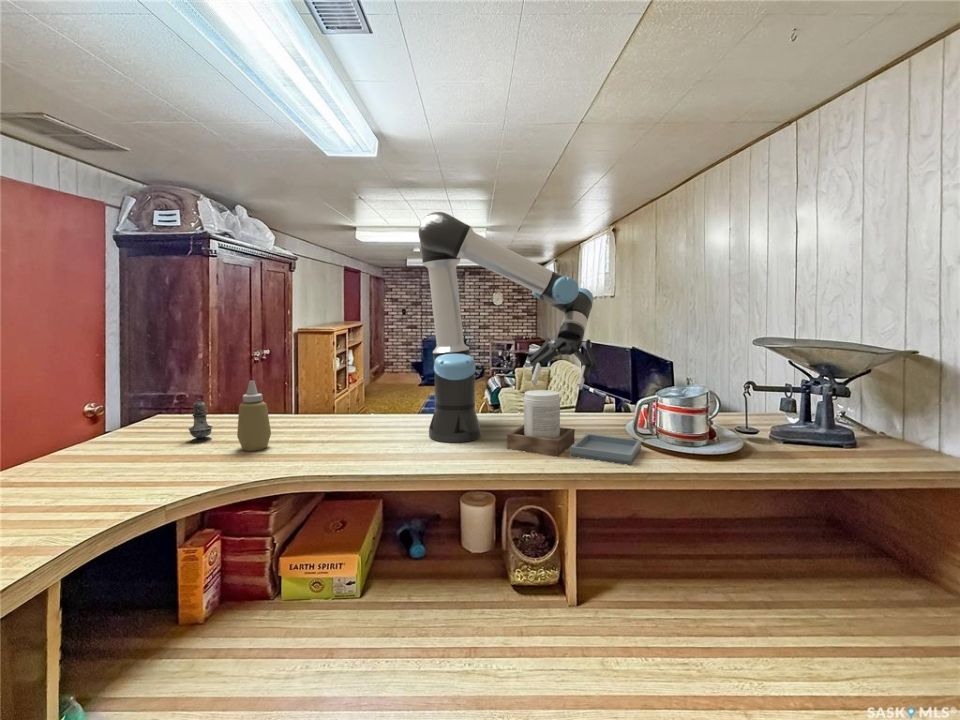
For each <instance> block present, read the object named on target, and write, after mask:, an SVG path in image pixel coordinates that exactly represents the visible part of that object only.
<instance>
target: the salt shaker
mask: <svg viewBox="0 0 960 720" xmlns="http://www.w3.org/2000/svg"><path fill="white" fill-rule="evenodd" d="M207 415H208V413H207V410H206V403H205V402H204V401H201V398H197V401H196V402H194V403H193V414H192V417H193V425H192V427H189V428H188V430H187V431H189V433H190V435H191V437H192V438H193V439H191V440H190V443H191V444H202V443H207V442H210V441H212V440H213V438H212V437H211V436H209V435H210V434H211V433H212V431H213V430H212V429H213V427H214V426H213V425H209V423H208V422H207V421H208V420H207Z"/></svg>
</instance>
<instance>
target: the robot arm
mask: <svg viewBox="0 0 960 720" xmlns="http://www.w3.org/2000/svg"><path fill="white" fill-rule="evenodd" d="M418 237H419V244H420V250H421V260H422V265H423V266H424V267H426V268H427V270H428V277H429V278H428V279H429V287H430V296H431V305H432V307H431V308H432V314H433V315H432V316H433V323H434V325H433V326H434V333H435V340H436V341H435V343H436V346H435V348H434V349H433V350H432V359H433V371H434V411H433V415H432V418H431V422H430V424H429V427H428V437H429V438H430V439H431V440H433V441H437V442H442V443H443V442H444V443H465V442H470V441H475V440H478V439H479V438H481V436H482V427H481V424H480V422H479V417H478V415H477V412H476V369H477V368H476V363H475V359H474V357H472V355H471V352H470V347H469V346H467V345H466V344H465V342H464V332H463V331H464V330H463V323H462V321H463V320H462V313H461V303H460V293H459V284H458V274H457V266H458V265H459V263H460V262H461V258H464V259H466V260H468V261H470V262H472V263H474V264H476V265H479V266H480V267H483V268H484V269H487V270H489V271H490V272H493V273H495V274H497V275H499V276H501V277H503V278H506V279H508V280H509V281H512V282H514V283H516V284H518V285H520V286H522V287H525V288H526V289H528V290H530V291H532V292H531V294H532V296H533V297H535V298H537V299H538V300H539V301H541V302H544V303H546V304H548V305H550V306H551V307H553V308H555V309H557V310H559V311H560V312H562V313H564V314H563V318H562V321H561V324H560V327H559V330H558V333H557V338H556V339H555V340H551V339H550V338H549V337H547V338H545V341H544V343H543V344H542V345H541V346H540V347H539V348H538V349H537V350H536V351H535V352H534V353H533V354H532V355H531V356H529V358H528V361H529V363H530V366H531V367H532V368H531V375H532V377H531V379H530V382H531V384H532V385H533V386H534V387H537V384H538V380H539V378H540V374H541V371H542V369H543V368H542V366H543V365H545V364H546V363H548V362H549V361H551V359H553V358H555V357H558V356H559V355H562V356H563V355H565V356H566V355H568V356H573V355H574V356H575V357H576V358H577V360H579V362H580V363H581V365H582V366H581V369H580V373H579V377H578V381H577V387H578V390H579V391H580V390H581V391H583V387H584V383H585V380H588V379H589V376H590V374H591V370H594V371H595V370H598V368H599V367H598V366H599V365H598V363H597V360H596V357H595V354H594V353H593V349H592V348H593V347H592V341H591V339H587V340H585V341H583V339H584V337H585V333H586V330H587V329H586V328H587V325H588V321H589V319H590V318H589V317H590V314H591V310H592V308H593V302H594V296H593V293H592V292H591V291H590V290H589V289H588V288H585V287H584V288H582V287H580V286H579V284H578V282H577V281H576V279H574V278H573V277H570V276H566V275H564V276H563V275H562V274H559V273H557V272H555V271H553V270H551V269H549V268H547V267H545V266H543V265H541V264H540V263H537V262H536V261H533V260H531V259H528V258H527V257H525V256H523V255H521V254H519V253H517V252H514V250H511V249H509V248H507V247H505V246H503V245H500V244H499V243H497V242H495V241H492V240H491V239H489V238H487V237H484V236H482V235H481V234H479V233H476V232H475V231H474V229H473V226H471V225H470V224H467V223H465V222H464V221H461V220H460V219H458V218H456V217H455V216H453V215H450V214H449V213H446V212H442V211H434V212H431V213H429V214H427V215H426V216H424V217H423V219H422V220H421V222H420V224H419V226H418ZM582 347H583V348H584V349H585V350H587V355H588V358H589V360H590V361H588V360H587V358H586V357H585V355H584V354H583V353H582V351H580V349H582Z"/></svg>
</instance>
